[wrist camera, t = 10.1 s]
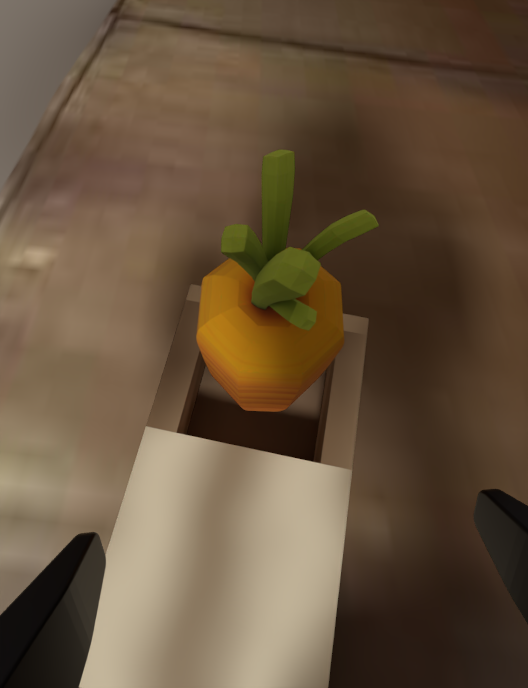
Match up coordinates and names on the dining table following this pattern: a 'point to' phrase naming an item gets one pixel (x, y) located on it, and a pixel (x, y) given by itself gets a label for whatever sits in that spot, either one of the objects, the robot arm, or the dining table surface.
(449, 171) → the dining table surface
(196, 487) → the open matchbox
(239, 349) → the carrot
